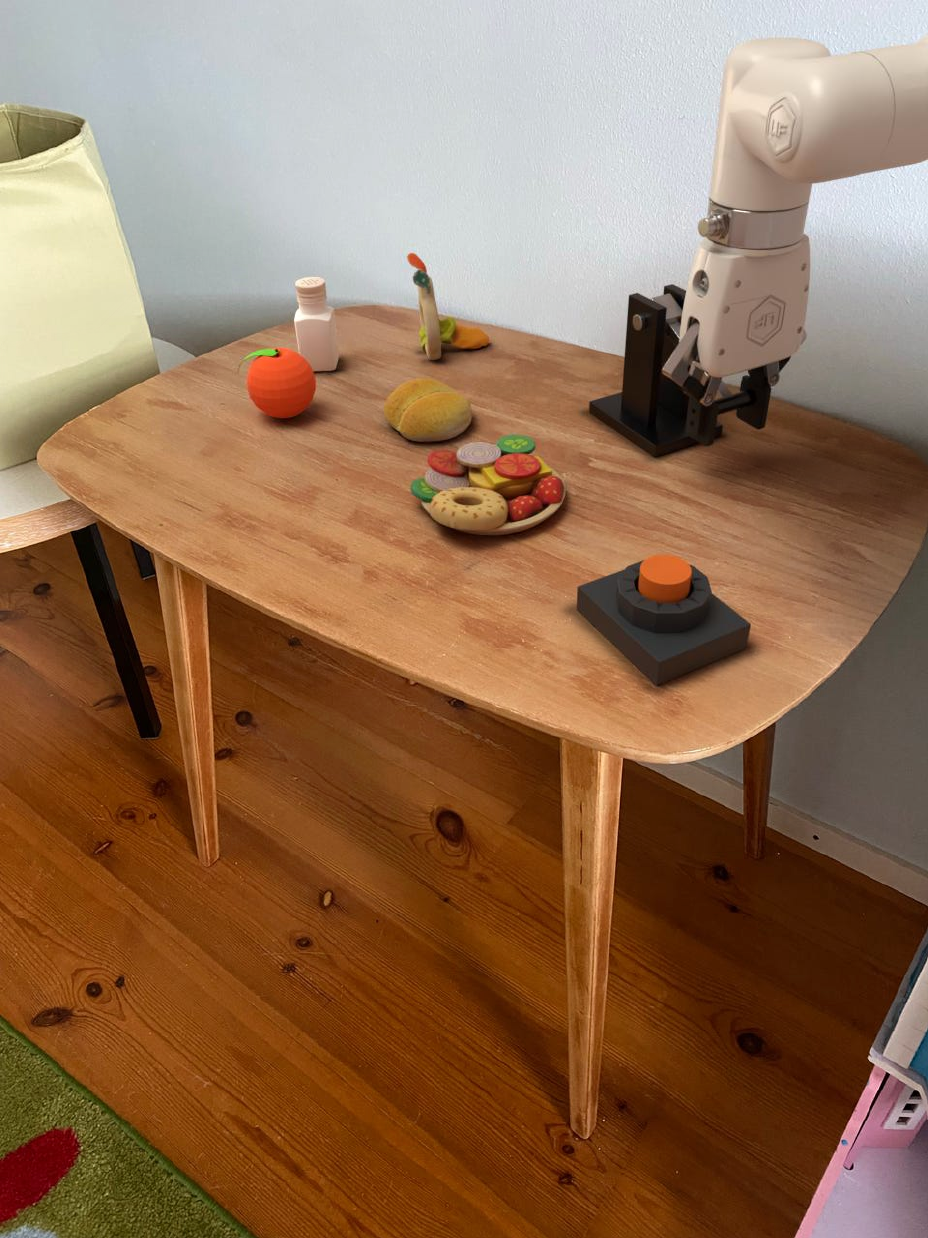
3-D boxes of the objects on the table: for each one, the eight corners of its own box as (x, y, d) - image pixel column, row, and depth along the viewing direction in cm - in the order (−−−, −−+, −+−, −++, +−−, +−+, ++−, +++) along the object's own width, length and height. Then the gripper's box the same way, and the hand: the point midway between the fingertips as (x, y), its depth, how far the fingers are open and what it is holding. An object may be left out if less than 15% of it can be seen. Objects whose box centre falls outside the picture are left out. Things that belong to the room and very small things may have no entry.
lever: (749, 411, 88) (760, 393, 86) (705, 425, 87) (715, 407, 84) (673, 309, 93) (682, 289, 91) (629, 320, 91) (637, 300, 89)
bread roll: (419, 453, 94) (416, 415, 92) (373, 419, 100) (370, 382, 98) (490, 428, 98) (489, 391, 95) (442, 396, 104) (440, 360, 101)
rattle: (483, 367, 109) (480, 263, 102) (410, 366, 110) (402, 263, 103) (490, 340, 115) (488, 240, 108) (421, 339, 116) (414, 239, 109)
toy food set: (445, 558, 81) (443, 524, 79) (394, 482, 90) (391, 451, 88) (590, 520, 84) (592, 487, 82) (526, 451, 94) (526, 420, 92)
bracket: (721, 435, 95) (740, 306, 87) (654, 457, 92) (667, 325, 84) (652, 392, 103) (663, 270, 95) (588, 411, 100) (594, 287, 92)
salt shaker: (336, 372, 109) (326, 287, 104) (300, 373, 110) (288, 288, 104) (340, 357, 113) (330, 274, 107) (306, 358, 113) (294, 275, 107)
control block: (746, 647, 71) (755, 603, 68) (656, 686, 68) (661, 641, 65) (661, 577, 78) (666, 535, 75) (576, 609, 75) (578, 566, 72)
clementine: (233, 428, 100) (220, 362, 95) (255, 397, 105) (243, 333, 101) (309, 431, 99) (299, 365, 94) (327, 400, 104) (319, 335, 100)
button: (699, 594, 70) (702, 574, 69) (658, 610, 69) (660, 590, 67) (668, 568, 72) (670, 549, 71) (628, 583, 71) (629, 564, 70)
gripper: (699, 256, 71) (674, 475, 83) (871, 214, 77) (826, 424, 89) (637, 229, 77) (622, 438, 88) (803, 192, 83) (769, 392, 94)
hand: (725, 429), depth 88 cm, fingers closed on lever, 5 cm apart
